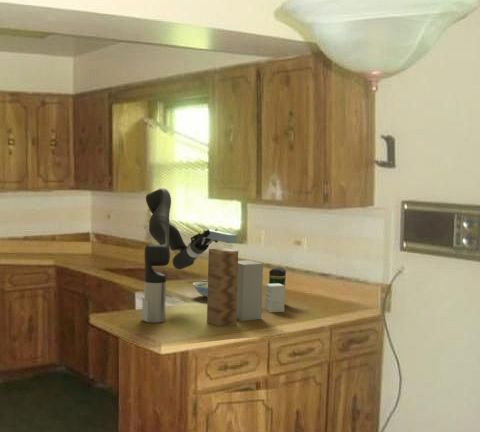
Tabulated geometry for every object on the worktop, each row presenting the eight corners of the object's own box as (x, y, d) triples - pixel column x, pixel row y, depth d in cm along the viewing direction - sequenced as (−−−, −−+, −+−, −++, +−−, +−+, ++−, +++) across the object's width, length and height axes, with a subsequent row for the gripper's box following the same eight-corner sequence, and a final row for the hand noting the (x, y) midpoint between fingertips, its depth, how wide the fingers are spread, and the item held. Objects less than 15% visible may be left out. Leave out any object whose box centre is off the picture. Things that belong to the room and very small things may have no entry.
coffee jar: (282, 307, 357) (283, 269, 356) (266, 306, 359) (267, 268, 358) (286, 303, 367) (287, 266, 365) (270, 302, 369) (271, 265, 367)
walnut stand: (217, 326, 311) (219, 251, 309) (206, 321, 320) (208, 249, 317) (236, 324, 316) (238, 251, 313) (224, 320, 324) (226, 248, 322)
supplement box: (278, 309, 353) (279, 283, 352) (284, 312, 346) (285, 285, 345) (264, 309, 350) (265, 283, 349) (269, 312, 343) (270, 286, 342)
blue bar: (229, 243, 307) (229, 235, 307) (203, 237, 328) (203, 229, 328) (236, 243, 309) (236, 234, 309) (210, 237, 330) (210, 229, 329)
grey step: (242, 320, 324) (243, 264, 322) (228, 315, 334) (230, 261, 332) (261, 318, 329) (263, 263, 327) (247, 313, 339) (249, 260, 338)
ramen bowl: (199, 303, 361) (200, 286, 361) (184, 295, 382) (184, 279, 381) (245, 300, 372) (246, 284, 371) (228, 293, 392) (228, 277, 392)
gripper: (181, 239, 335) (197, 223, 321) (209, 239, 342) (225, 223, 328) (185, 254, 332) (200, 239, 318) (212, 253, 339) (228, 238, 325)
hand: (212, 231), depth 323 cm, fingers closed on blue bar, 3 cm apart
